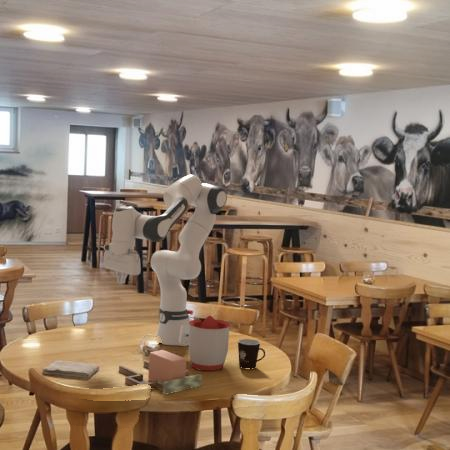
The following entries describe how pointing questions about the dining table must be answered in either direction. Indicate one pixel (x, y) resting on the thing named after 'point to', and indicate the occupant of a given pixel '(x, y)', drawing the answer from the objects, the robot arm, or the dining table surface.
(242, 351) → the coffee mug
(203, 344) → the citrus juicer
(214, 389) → the dining table surface
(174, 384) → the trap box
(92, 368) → the washcloth
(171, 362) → the terracotta block
